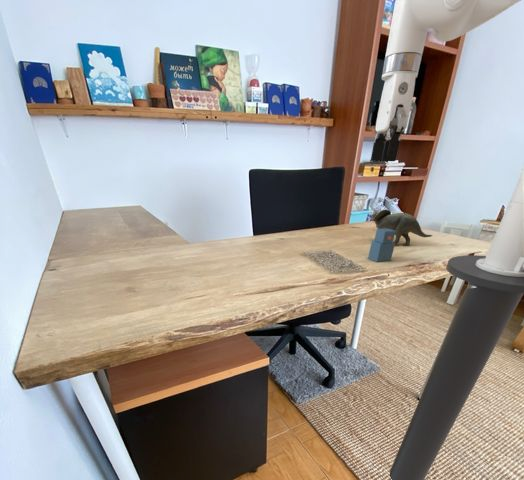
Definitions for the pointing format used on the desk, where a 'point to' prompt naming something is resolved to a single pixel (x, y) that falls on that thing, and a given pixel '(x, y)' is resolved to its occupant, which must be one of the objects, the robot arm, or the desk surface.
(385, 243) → the slate gray tower
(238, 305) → the desk surface
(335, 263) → the rug
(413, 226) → the toy dinosaur
